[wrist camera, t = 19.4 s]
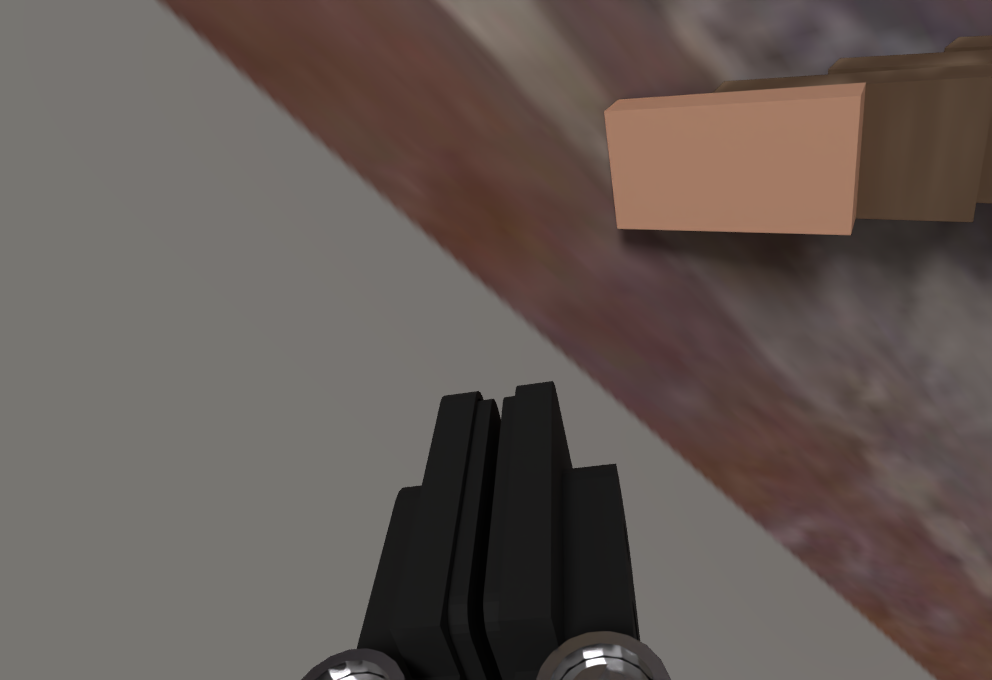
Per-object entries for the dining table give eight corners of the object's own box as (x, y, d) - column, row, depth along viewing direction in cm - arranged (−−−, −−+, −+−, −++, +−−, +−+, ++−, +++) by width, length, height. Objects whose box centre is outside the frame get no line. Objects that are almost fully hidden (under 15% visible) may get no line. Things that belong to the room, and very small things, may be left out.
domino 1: (618, 99, 29) (865, 82, 24) (630, 213, 31) (855, 217, 27) (604, 111, 27) (860, 95, 23) (617, 228, 30) (850, 235, 26)
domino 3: (840, 58, 27) (1148, 40, 22) (833, 180, 30) (1107, 190, 25) (828, 69, 26) (1148, 54, 21) (822, 195, 29) (1106, 209, 24)
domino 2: (724, 81, 28) (998, 63, 23) (727, 198, 31) (974, 204, 26) (712, 92, 27) (997, 76, 22) (716, 213, 29) (973, 222, 25)
